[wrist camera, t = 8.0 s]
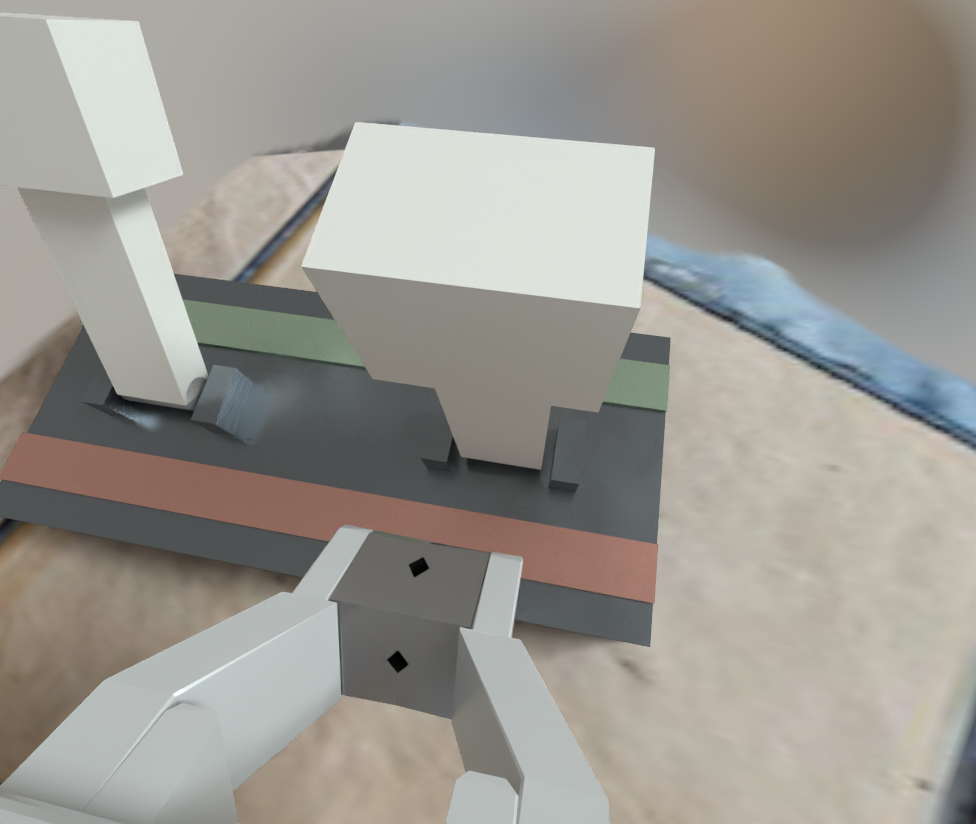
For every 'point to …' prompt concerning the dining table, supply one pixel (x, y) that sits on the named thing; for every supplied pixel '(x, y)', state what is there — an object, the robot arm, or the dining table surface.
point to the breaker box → (349, 463)
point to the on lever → (100, 191)
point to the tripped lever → (486, 272)
